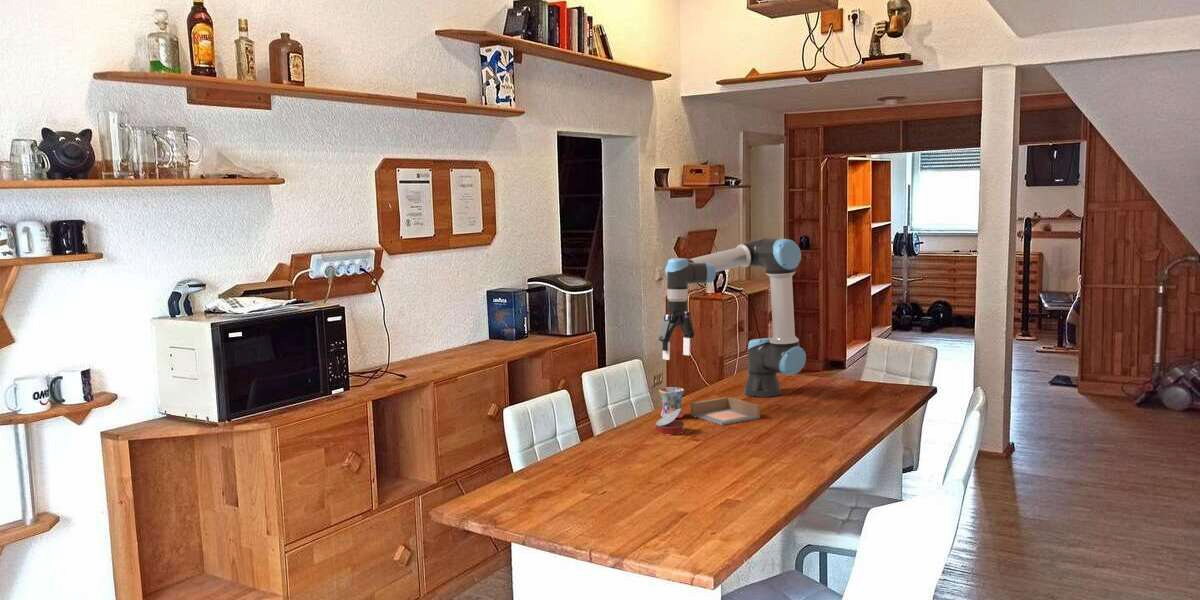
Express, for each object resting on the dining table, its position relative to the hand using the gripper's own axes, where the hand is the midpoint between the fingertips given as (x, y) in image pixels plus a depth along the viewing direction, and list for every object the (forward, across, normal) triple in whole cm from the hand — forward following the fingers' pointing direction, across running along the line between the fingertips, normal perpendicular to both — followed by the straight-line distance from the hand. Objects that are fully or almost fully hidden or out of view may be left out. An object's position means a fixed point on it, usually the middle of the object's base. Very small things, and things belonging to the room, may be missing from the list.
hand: (676, 357), depth 339 cm
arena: (+22, -10, +15) cm, 29 cm away
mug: (+23, 0, -1) cm, 23 cm away
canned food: (+23, +19, +10) cm, 32 cm away
